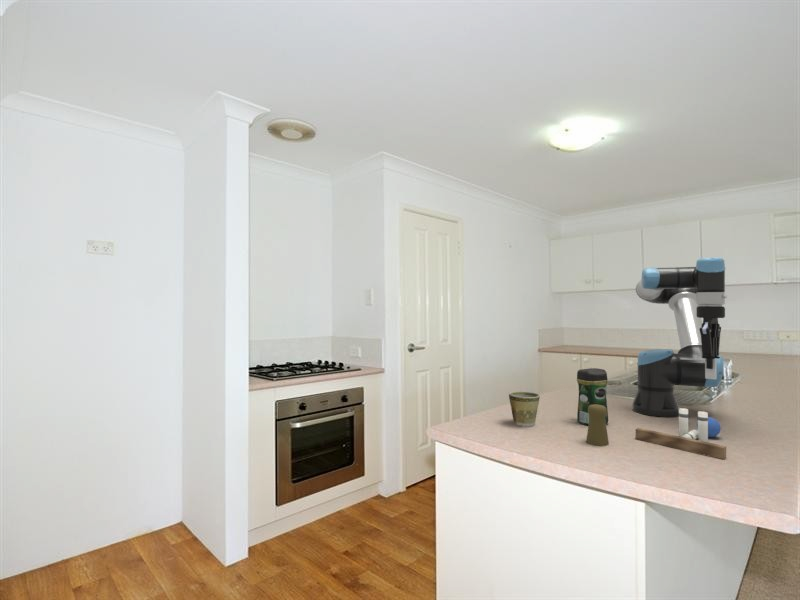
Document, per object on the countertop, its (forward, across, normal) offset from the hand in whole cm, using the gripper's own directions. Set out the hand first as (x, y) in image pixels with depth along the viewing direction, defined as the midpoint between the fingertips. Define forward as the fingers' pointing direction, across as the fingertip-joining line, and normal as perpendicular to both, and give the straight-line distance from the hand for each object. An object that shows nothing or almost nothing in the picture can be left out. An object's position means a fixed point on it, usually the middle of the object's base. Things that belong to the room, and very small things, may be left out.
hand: (710, 378), depth 141 cm
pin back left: (+16, -16, +2) cm, 23 cm away
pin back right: (+16, -16, -2) cm, 23 cm away
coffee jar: (+17, -22, +28) cm, 39 cm away
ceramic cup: (+17, -40, +42) cm, 60 cm away
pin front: (+15, -14, 0) cm, 20 cm away
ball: (+13, -10, -2) cm, 17 cm away
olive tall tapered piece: (+17, -42, +16) cm, 48 cm away
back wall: (+16, -28, 0) cm, 33 cm away
